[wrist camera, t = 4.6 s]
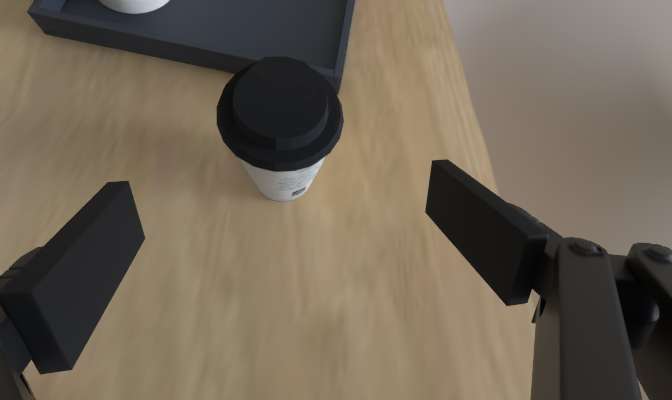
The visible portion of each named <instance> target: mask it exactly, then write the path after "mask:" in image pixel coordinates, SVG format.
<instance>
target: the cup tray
mask: <svg viewBox="0 0 672 400" xmlns="http://www.w3.org/2000/svg"><path fill="white" fill-rule="evenodd" d="M354 4H355V0H170V1H169V2H168V3H166V4H165V5H164V6H162V7H160V8H158V9H156V10H153V11H150V12H146V13H139V14H129V13H122V12H118V11H115V10H112V9H110V8H108V7H106V6H105V5H103V4H102V3H101V2H100V1H99V0H34V1H33V3H32V4H31V6H30V8H29V10H28V11H27V12H28V14H29V15H30V16H31V17H32V18H33V20H34V21H35V22H36V23H37V24H38V25H39V27H40V28H41V29H42V30H43V31H44V33H45V34H48V35H53V36H58V37H63V38H68V39H72V40H77V41H82V42H87V43H92V44H97V45H101V46H106V47H111V48H116V49H121V50H126V51H130V52H135V53H140V54H145V55H150V56H155V57H159V58H164V59H169V60H174V61H179V62H183V63H188V64H193V65H198V66H203V67H208V68H212V69H217V70H222V71H227V72H232V73H237V72H239V71H240V70H242V69H244V68H246V67H247V66H249V65H251V64H253V63H257V62H259V61H260V60H262V59H263V58H264V57H284V56H286V57H290V58H293V59H297V60H300V61H304V62H306V63H307V64H308V66H309V67H310V68H312V69H314V70H316V71H318V72H319V73H320V74H321V75H322V76H323V77H324V78H325V79H326V80H327V81H328V82H329V83H330V84H331V85H332V87H333V89H334V91H335V93H336V94H338V93H339V89H340V84H341V80H342V74H343V68H344V63H345V57H346V51H347V45H348V39H349V33H350V27H351V21H352V16H353V10H354Z"/></svg>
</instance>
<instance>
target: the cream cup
mask: <svg viewBox="0 0 672 400" xmlns="http://www.w3.org/2000/svg"><path fill="white" fill-rule="evenodd" d="M99 1H100V2H101V3H102V4H103V5H105V6H106V7H108V8H110V9H112V10H115V11H118V12H122V13H129V14H139V13H146V12H150V11H153V10H156V9H158V8H160V7H162V6H164V5H165V4H166V3H168V2H169V1H170V0H99Z"/></svg>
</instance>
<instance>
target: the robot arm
mask: <svg viewBox="0 0 672 400" xmlns="http://www.w3.org/2000/svg"><path fill="white" fill-rule="evenodd" d="M425 212H426V214H427V215H428V216H429V217H430V218H431V219H432V221H433V222H434V223H435V224H436V225H437V226H438V227H439V229H440V230H441V231H442V232H443V233H444V234H445V235H446V237H447V238H448V239H449V240H450V241H451V242H452V244H453V245H454V246H455V247H456V248H457V249H458V250H459V252H460V253H461V254H462V255H463V256H464V257H465V258H466V260H467V261H468V262H469V263H470V264H471V265H472V267H473V268H474V269H475V270H476V271H477V272H478V273H479V275H480V276H481V277H482V278H483V279H484V280H485V281H486V283H487V284H488V285H489V286H490V287H491V288H492V290H493V291H494V292H495V293H496V294H497V295H498V296H499V298H500V299H501V300H502V301H503V302H504V303H505V304H506V306H510V305H517V304H524V303H527V302H528V299H529V296H530V293H531V290H532V289H533V290H534V291H535V292H536V293H538V294H539V295H540V299H539V301H538V304H537V307H536V310H535V313H534V316H533V319H532V321H531V322H532V323H536V329H535V344H534V358H533V373H532V387H531V400H642V397H641V392H640V388H639V383H638V380H639V382H640V384H641V385H642V387H643V389H644V391H645V392H646V394H647V396H648V398H649V400H672V250H670V249H669V248H667V247H662V246H661V245H657V244H650V243H636V244H633V246H632V247H631V249H630V251H629V254H628V255H627V256H621V255H611V254H608V253H607V251H606V250H605V249H604V248H602V247H601V246H600V245H597V244H595V243H593V242H591V241H587V240H585V239H581V238H574V237H568V238H563V237H562V236H560V235H559V234H557V233H556V232H555V231H553V230H552V229H550V228H549V227H548V226H546V225H545V224H543V223H542V222H539V220H538V219H536V218H535V217H533V216H531V215H530V214H529V213H528V212H526V211H525V210H523V209H522V208H520V207H517V206H515V205H513V204H510V203H507V202H505V201H504V200H503V199H501V198H500V197H499V196H497V195H496V194H494V193H493V192H492V191H490V190H489V189H487V188H486V187H485V186H483V185H482V184H481V183H479V182H478V181H476V180H475V179H474V178H472V177H471V176H470V175H468V174H467V173H465V172H464V171H463V170H461V169H460V168H459V167H457V166H456V165H454V164H453V163H452V162H450V161H449V160H433V161H432V166H431V174H430V181H429V189H428V196H427V204H426V211H425ZM144 240H145V236H144V232H143V229H142V226H141V222H140V219H139V215H138V212H137V208H136V205H135V202H134V198H133V195H132V191H131V188H130V184H129V181H118V182H107V183H106V184H105V185H104V186H103V187H102V188H101V189H100V190H99V191H98V192H97V193H96V194H95V195H94V196H93V197H92V198H91V199H90V200H89V201H88V202H87V203H86V204H85V205H84V206H83V207H82V208H81V209H80V210H79V211H78V212H77V213H76V214H75V215H74V216H73V217H72V218H71V219H70V220H69V221H68V222H67V223H66V224H65V225H64V226H63V227H62V228H61V229H60V230H59V231H58V232H57V233H56V234H55V235H54V236H53V237H52V238H51V239H50V240H49V241H48V242H47V243H46V244H45V245H44V246H43V247H37V248H35V249H34V250H32V251H30V252H28V253H27V254H25V255H23V256H22V257H20V258H19V259H18V260H17V261H16V262H15V263H14V264H13V265H12V266H11V267H10V268H9V270H6V271H5V272H4V273H3V274H2V275H1V276H0V400H36V399H35V397H34V395H33V393H32V391H31V388H30V386H29V384H28V382H27V380H26V379H25V377H24V375H23V374H22V372H23V371H24V369H25V368H26V366H27V365H28V363H29V362H30V361H31V359H32V361H33V363H34V365H35V366H36V368H37V370H38V372H39V373H40V374H46V373H53V372H60V371H67V370H72V368H73V367H74V365H75V363H76V361H77V360H78V358H79V356H80V354H81V352H82V351H83V349H84V347H85V345H86V343H87V342H88V340H89V338H90V336H91V334H92V333H93V331H94V329H95V327H96V325H97V324H98V322H99V320H100V318H101V317H102V315H103V313H104V311H105V309H106V308H107V306H108V304H109V302H110V300H111V299H112V297H113V295H114V293H115V291H116V290H117V288H118V286H119V284H120V283H121V281H122V279H123V277H124V275H125V274H126V272H127V270H128V268H129V266H130V265H131V263H132V261H133V259H134V257H135V256H136V254H137V252H138V250H139V249H140V247H141V245H142V243H143V241H144ZM637 378H638V379H637Z"/></svg>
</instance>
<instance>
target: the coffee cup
mask: <svg viewBox="0 0 672 400" xmlns="http://www.w3.org/2000/svg"><path fill="white" fill-rule="evenodd" d="M343 122H344V120H343V112H342V105H341V103H340V101H339V99H338V97H337V95H336V93H335V91H334V89H333V87H332V85H331V84H330V83H329V82H328V81H327V80H326V79H325V78H324V77H323V76H322V75H321V74H320V73H319V72H318V71H316V70H314V69H312V68H310V67H309V66H308V64H307V63H306V62H304V61H300V60H297V59H293V58H290V57H286V56H284V57H264V58H263V59H262V60H260V61H259V62H257V63H253V64H251V65H249V66H247V67H246V68H244V69H242V70H240V71H239V72H237V73H236V74H235V75H234V76H233V77H232V79H231V80H230V81H229V82H228V83H227V84H226V85H225V88H224V90H223V92H222V95H221V97H220V100H219V102H218V105H217V126H218V129H219V131H220V134H221V137H222V139H223V142H224V143H225V144H226V145H227V146H228V147H229V149H230V150H231V151H232V152H233V153H234V154H235V155H236V156H237V157H238V158H239V160H240V161H241V163H242V165H243V166H244V168H245V169H246V171H247V173H248V174H249V176H250V177H251V179H252V181H253V182H254V184H255V186H256V187H257V189H258V190H259V191H260V192H261V193H262V194H263V195H264V196H266V197H268V198H269V199H271V200H275V201H279V202H284V201H291V200H294V199H297V198H299V197H300V196H301V195H303V194H304V193H305V192H306V191H307V189H308V188H309V186H310V184H311V183H312V181H313V179H314V177H315V175H316V173H317V172H318V170H319V168H320V166H321V164H322V162H323V160H324V159H325V157H326V156H327V155H328V154H329V153H330V152H331V151H332V149H333V148H334V146H335V145H336V143H337V142H338V140H339V139H340V135H341V131H342V127H343Z"/></svg>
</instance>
